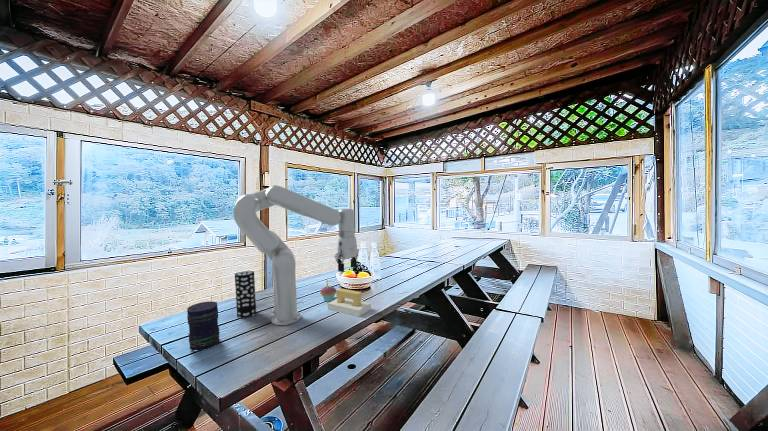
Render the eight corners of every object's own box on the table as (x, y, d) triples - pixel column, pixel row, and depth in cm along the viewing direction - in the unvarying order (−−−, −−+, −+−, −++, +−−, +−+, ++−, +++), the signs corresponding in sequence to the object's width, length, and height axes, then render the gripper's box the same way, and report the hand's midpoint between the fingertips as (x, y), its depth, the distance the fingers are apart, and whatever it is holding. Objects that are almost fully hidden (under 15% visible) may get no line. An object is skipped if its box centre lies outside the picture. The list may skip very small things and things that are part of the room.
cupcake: (334, 302, 148) (334, 280, 147) (318, 303, 148) (317, 280, 147) (337, 296, 157) (337, 275, 156) (322, 297, 157) (321, 275, 156)
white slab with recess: (327, 309, 140) (327, 303, 139) (340, 302, 148) (340, 296, 148) (359, 316, 130) (358, 310, 130) (371, 309, 138) (370, 303, 138)
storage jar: (214, 335, 115) (212, 299, 114) (224, 342, 109) (222, 304, 108) (185, 345, 107) (182, 307, 106) (194, 354, 101) (191, 313, 100)
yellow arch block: (336, 308, 141) (336, 290, 140) (341, 305, 144) (340, 288, 143) (357, 312, 134) (357, 294, 134) (361, 310, 137) (361, 292, 136)
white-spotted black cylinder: (232, 316, 133) (230, 274, 132) (247, 310, 141) (245, 270, 140) (246, 319, 130) (243, 276, 129) (260, 312, 138) (258, 271, 137)
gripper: (341, 237, 127) (342, 274, 128) (363, 232, 142) (364, 266, 143) (328, 236, 131) (329, 272, 132) (351, 232, 146) (352, 264, 147)
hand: (347, 269), depth 138 cm, fingers open, 9 cm apart
